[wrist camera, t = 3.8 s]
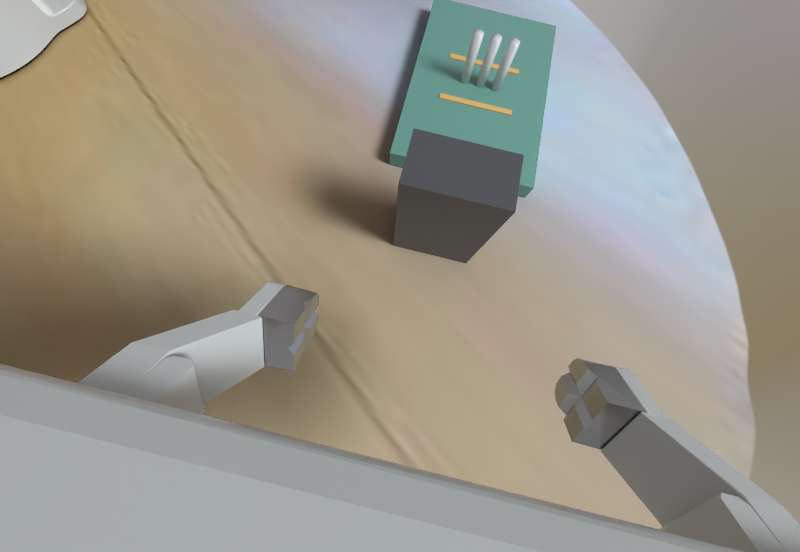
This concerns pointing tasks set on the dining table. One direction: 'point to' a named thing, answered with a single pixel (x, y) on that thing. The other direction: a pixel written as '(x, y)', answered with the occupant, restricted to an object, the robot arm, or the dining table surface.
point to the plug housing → (454, 195)
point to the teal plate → (479, 83)
